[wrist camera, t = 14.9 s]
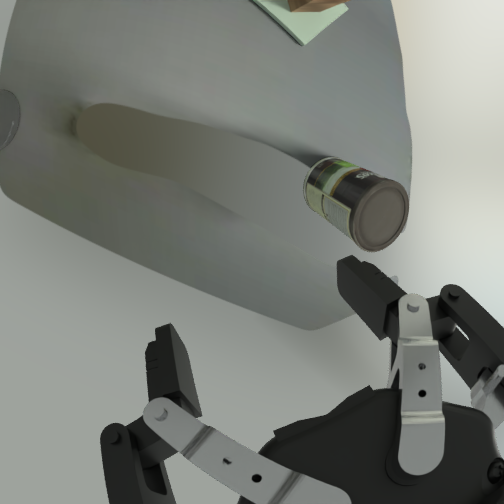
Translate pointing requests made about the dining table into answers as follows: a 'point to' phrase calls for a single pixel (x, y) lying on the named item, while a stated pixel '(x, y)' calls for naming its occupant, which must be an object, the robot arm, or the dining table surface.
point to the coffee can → (357, 202)
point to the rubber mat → (301, 18)
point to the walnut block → (312, 5)
